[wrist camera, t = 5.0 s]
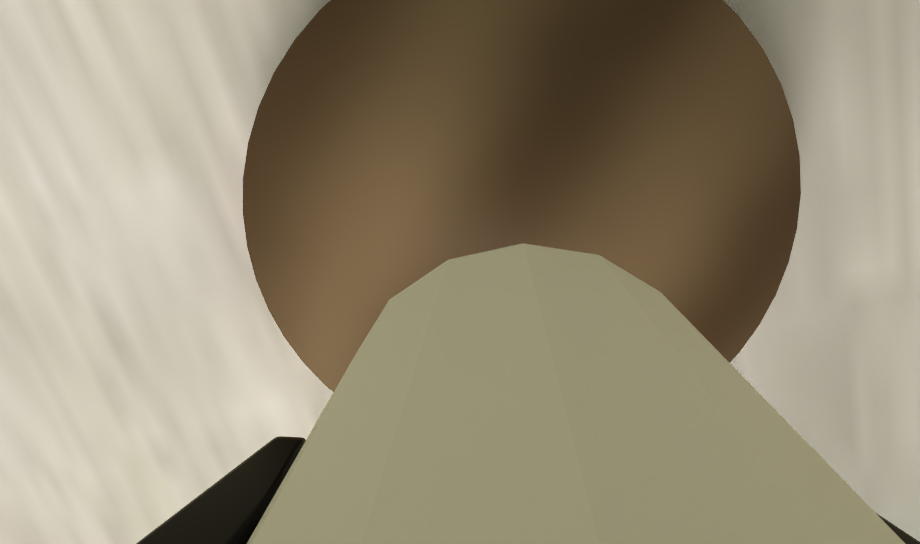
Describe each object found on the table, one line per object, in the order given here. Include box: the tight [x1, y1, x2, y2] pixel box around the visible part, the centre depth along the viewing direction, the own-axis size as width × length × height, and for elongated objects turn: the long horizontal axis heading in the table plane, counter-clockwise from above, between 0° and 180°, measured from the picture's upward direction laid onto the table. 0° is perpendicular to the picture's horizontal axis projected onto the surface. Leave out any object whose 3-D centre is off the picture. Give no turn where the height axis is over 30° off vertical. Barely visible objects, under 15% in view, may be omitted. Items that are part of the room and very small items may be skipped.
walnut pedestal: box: [243, 0, 801, 392], centre depth 17 cm, size 15×15×3 cm
